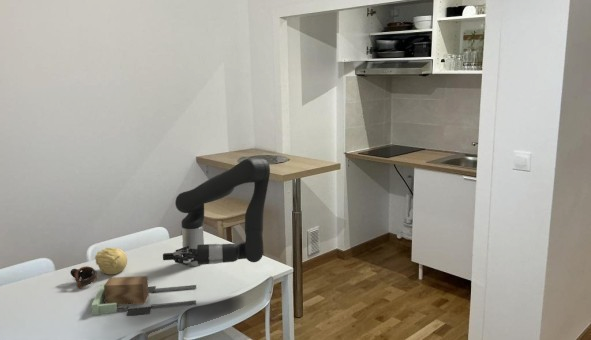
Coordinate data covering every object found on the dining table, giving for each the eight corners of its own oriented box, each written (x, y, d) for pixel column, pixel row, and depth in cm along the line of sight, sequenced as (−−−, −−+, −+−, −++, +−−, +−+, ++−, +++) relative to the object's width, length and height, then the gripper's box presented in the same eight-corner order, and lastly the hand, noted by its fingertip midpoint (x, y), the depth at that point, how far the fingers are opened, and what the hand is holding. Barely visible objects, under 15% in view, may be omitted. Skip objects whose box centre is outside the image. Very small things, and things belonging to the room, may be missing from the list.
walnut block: (106, 305, 179) (104, 285, 177) (111, 296, 186) (109, 277, 184) (144, 304, 180) (142, 284, 178) (148, 295, 187) (147, 276, 185)
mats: (126, 316, 171) (126, 315, 171) (135, 288, 192) (134, 287, 192) (150, 313, 172) (150, 312, 172) (155, 286, 193) (155, 286, 193)
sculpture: (92, 275, 205) (90, 251, 203) (112, 264, 216) (110, 241, 214) (113, 279, 201) (111, 254, 199) (133, 268, 212) (131, 244, 209)
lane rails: (116, 311, 174) (116, 309, 174) (123, 293, 188) (122, 291, 187) (195, 304, 179) (195, 301, 179) (196, 287, 193) (196, 284, 192)
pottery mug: (103, 279, 202) (101, 267, 197) (91, 297, 195) (88, 285, 190) (77, 271, 203) (74, 258, 198) (64, 288, 196) (60, 276, 191)
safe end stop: (92, 315, 172) (91, 305, 171) (101, 294, 187) (100, 285, 186) (116, 313, 173) (115, 302, 172) (123, 292, 188) (122, 283, 188)
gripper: (209, 238, 189) (163, 240, 186) (210, 251, 176) (161, 254, 173) (210, 256, 191) (164, 259, 188) (210, 270, 178) (162, 273, 175)
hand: (163, 256), depth 180 cm, fingers closed
